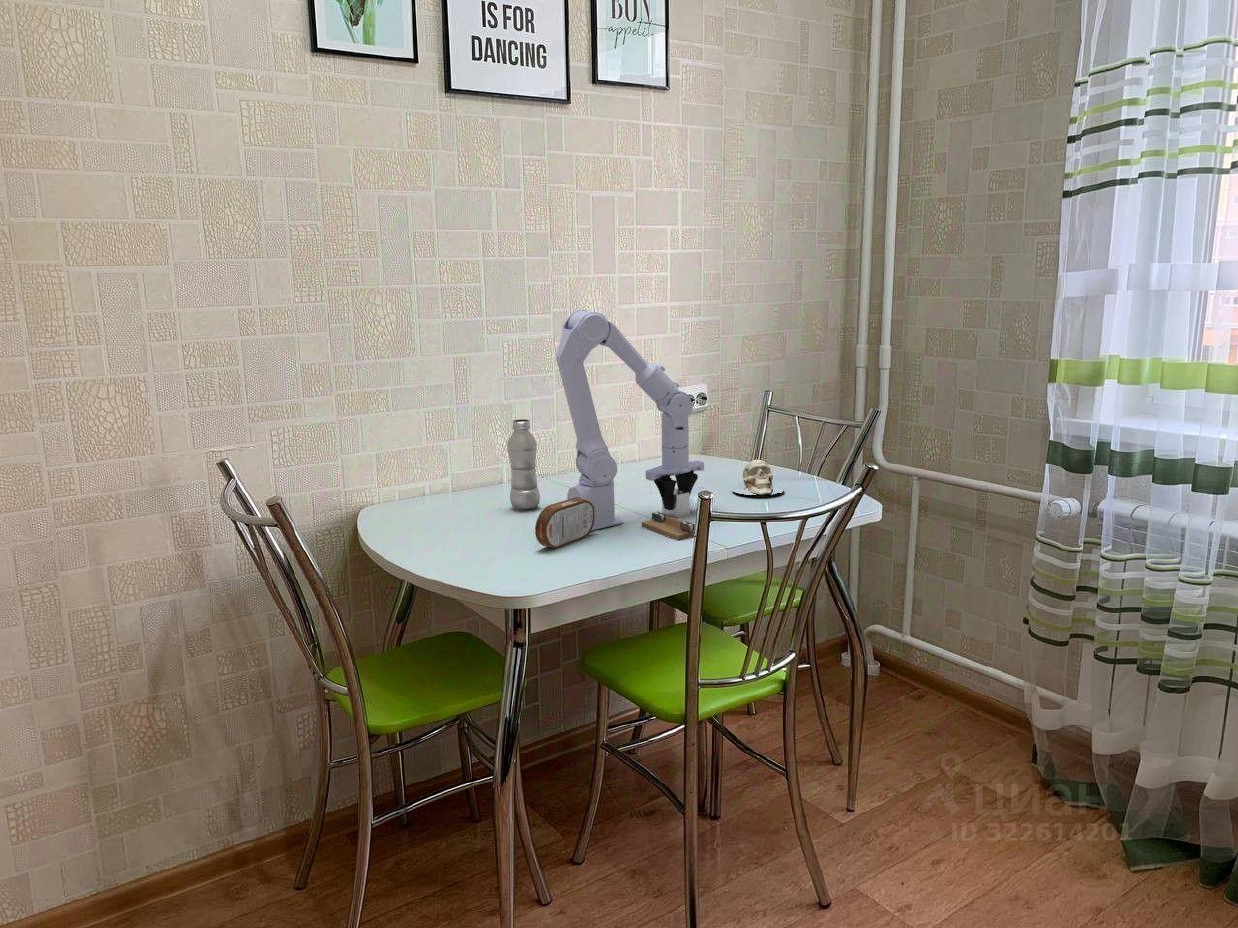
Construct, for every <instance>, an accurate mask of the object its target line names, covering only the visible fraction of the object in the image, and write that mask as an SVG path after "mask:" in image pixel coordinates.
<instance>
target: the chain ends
mask: <svg viewBox="0 0 1238 928" xmlns="http://www.w3.org/2000/svg"><path fill="white" fill-rule="evenodd" d="M666 517H667V514H664V513H662V512H661V511H655V512H652V513H651V520H653V519H654V520H658V521H659V522H664V520H666ZM695 526H696V524H695V523H692V522H689V521H687V520H686V521H684V522H680V528H681V529H682V530H684V531H685V530H686V531H687V532H693V530H695Z"/></svg>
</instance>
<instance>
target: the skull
mask: <svg viewBox="0 0 1238 928" xmlns="http://www.w3.org/2000/svg"><path fill="white" fill-rule="evenodd" d="M742 479H743V484H744V487H745V488H748V491H749V492H751V493H753V494H756V495H761V496H760V497H764V496H763V495H771V494H772V492H773V489H772V487H773V483H772V482H773V479H774V475H773V472H772V471H771V467H770V466H769V465H768V463H767V461H765V460H761V459H753V460H751V461H750V462H748V463H747V464H746V465H745V466H744V469H743V471H742Z"/></svg>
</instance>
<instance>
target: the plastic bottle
mask: <svg viewBox="0 0 1238 928" xmlns="http://www.w3.org/2000/svg"><path fill="white" fill-rule="evenodd" d="M530 423H531V422H530V419H527V418H521V419H520V418H518V419H513V420H512V427H511V429H512V431H513V432H512V433H511V435H510V436H509V438H508V439H507V443H506V447H507V448H506V449H507V453H508V459H509V464H510V465H509V466H510V473H511V481H510V483H511V486H510V491H509V501H510V504H511V506H512V507H513V508H514V509H516V510H517V509H518V510H525V511H527V510H531V509H535V508H537V507H538V506H539V504H540V501H541V500H540V499H541V496H540V490H539V487H538V479H537V473H536V471H537V469H536V466H537V465H536V460H537V449H538V448H537V446H538V443H537V441H536V438H535V436H534V435H533V434H532V433H531V431H530V429H531V424H530Z"/></svg>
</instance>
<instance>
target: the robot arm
mask: <svg viewBox="0 0 1238 928" xmlns="http://www.w3.org/2000/svg"><path fill="white" fill-rule="evenodd" d="M561 327H562V331H561V336H560V340H559V344H558V348H557V349H556V350H557V351H556V354H555V357H556V363H557V366H558V370H559V374H560V378H561V382H562V383H561V384H562V385H563V387H562V388H563V389H564V394H565V397H566V401H567V406H568V409H569V413H570V416H571V417H570V418H571V420H572V425H573V428H574V432H575V436H576V443H575V449H576V456H575V457H576V458H575V465H576V466H575V467H576V469H577V470H578V472H579V473H581V474H580V476H579V480H578V483H577V484H576V485H574V486H571V487H570V488H569V489H568V491H567V496H566V498H567V499H566V500H568V499H571V498H574V497H579V498H582V499H585V500H587V501H589V502H591V503H592V505H593V506H594V512H595V517H594V525H593V528H592V530H591V531H595V530H599V529H603V528H604V529H605V528H608V527H612V526H613V527H614V526H618V525H622V524H624V520H621V519H619V518H616V517H615V515H616V514H615V512H616V511H615V507H616V506H615V477H616V475H617V473H618V464H617V462H616V460H615V459H614V457H612V456H611V454H610V451H609V448H608V445H607V444H606V442H605V440H604V438H603V436H602V431H601V428H600V424H599V420H598V417H597V412H596V408H595V404H594V400H593V396H592V392H591V389H590V385H589V384H590V383H589V381H588V377H587V373H586V369H585V364H584V362H585V360H586V359H587V357H588V356H589V355H590V353H591V352H592V350H594V348H596V347H597V346H599V345H600V346H603V347H607V348H608V349H610V350H611V351H612V352H613V353H614V354H615V355H616V356H617V357H618V358H619V359H620V360H621V361H622V362H623V363H624V364H625V365H627V367H628V368H630V369H631V371H633V372H634V374H635V383H636V384H637V385H638V386H639V387H640V388H641V390H642V391H643V392H644V393H645V394H646V395H647V396H648V397H649V398H650V399H651V400H652V401H653V402H654V403H655V404H656V408H657V410H658V411H660V412H661V465H659V466H658V465H657V466H655V467H653V468H650V469H646V470H645V480H648V481H652V482H654V484H655V486H656V488H657V489H658V491H659V494H660V497H661V502H662V501H663V505H664V509H667V510H672V509H673V495H674V489H675V488H676V486H677V489H680V490H683V491H686V492H689V498H690V496H691V494H692V491H693V487H694V486H695V484H696V483H697V480H698V478H699V475H698V473H694V472H703V471H705V461H702V460H691V461H690V459H689V458H690V453H689V451H690V449H689V447H690V446H689V445H690V444H689V443H690V441H689V438H690V437H689V433H690V432H689V426H690V425H689V417H690V415H691V413H692V412H693V410H694V403H692V399H691V397H690V395H689V394H687V393H686V392H684V391H681V390H680V389H679V387H680V384H679V383H678V382H676V381H673V380H672V379H671V378H670V377H669V376H668V375H667V374H666V373H665V371H666V368H665V367H664V366H663V365H661V364H658V363H656V362H647V361H646V360H645V359H644V358H643V356H642V355H641V354H640V353H639V351H638V350H637V349H636V348H635V346H633V345H632V343H631V342H630V341H629V340H628V339H627V338H626V336H625V335H624V334H623V333H622V332H621V330H620V329H619V328H618V327H617V326H615V324H614V323H613V322H611V321H608V319H607V318H606V316H605V315H604V314H602V313H601V312H598V311H588V310H586V309H578V310H575V311H573V312H572V313H571V314H570V315H569V316H568V317H567V318H566V320H565V321H564V323H563V324H562V326H561ZM672 476H674V477H675V479H672ZM676 484H677V485H676Z"/></svg>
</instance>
